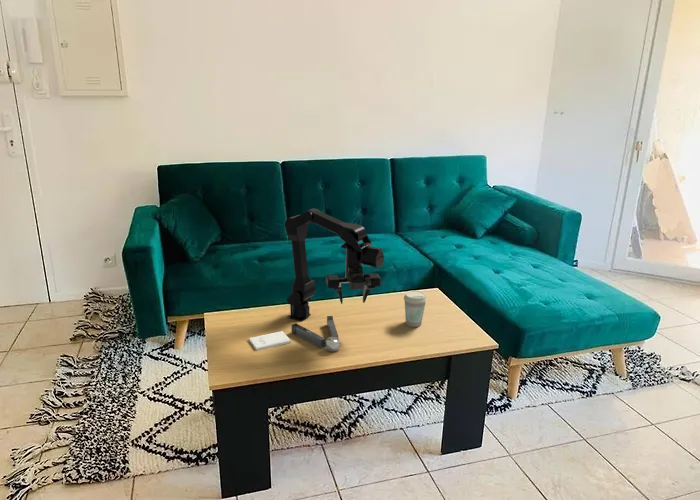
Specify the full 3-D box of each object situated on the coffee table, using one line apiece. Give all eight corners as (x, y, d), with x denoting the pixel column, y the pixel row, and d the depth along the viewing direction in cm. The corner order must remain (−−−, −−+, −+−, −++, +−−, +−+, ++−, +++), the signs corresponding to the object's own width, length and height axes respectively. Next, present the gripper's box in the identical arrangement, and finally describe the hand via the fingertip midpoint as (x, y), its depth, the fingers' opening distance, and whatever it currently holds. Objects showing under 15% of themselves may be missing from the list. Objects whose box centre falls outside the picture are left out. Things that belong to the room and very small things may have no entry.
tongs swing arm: (340, 351, 178) (341, 342, 177) (326, 351, 177) (327, 343, 176) (332, 323, 197) (332, 315, 196) (319, 323, 197) (319, 316, 196)
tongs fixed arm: (325, 346, 181) (325, 338, 180) (321, 348, 180) (321, 340, 179) (295, 330, 192) (295, 322, 191) (291, 332, 191) (291, 324, 190)
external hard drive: (290, 344, 183) (256, 351, 178) (282, 334, 190) (248, 341, 185) (290, 340, 183) (256, 347, 177) (282, 330, 190) (248, 337, 184)
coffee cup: (399, 326, 198) (401, 296, 194) (405, 317, 205) (407, 288, 201) (421, 330, 195) (423, 300, 191) (427, 321, 202) (429, 292, 198)
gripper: (330, 270, 173) (329, 314, 178) (386, 268, 177) (383, 311, 182) (326, 259, 184) (325, 300, 189) (378, 257, 187) (376, 298, 192)
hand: (352, 303), depth 188 cm, fingers open, 8 cm apart
